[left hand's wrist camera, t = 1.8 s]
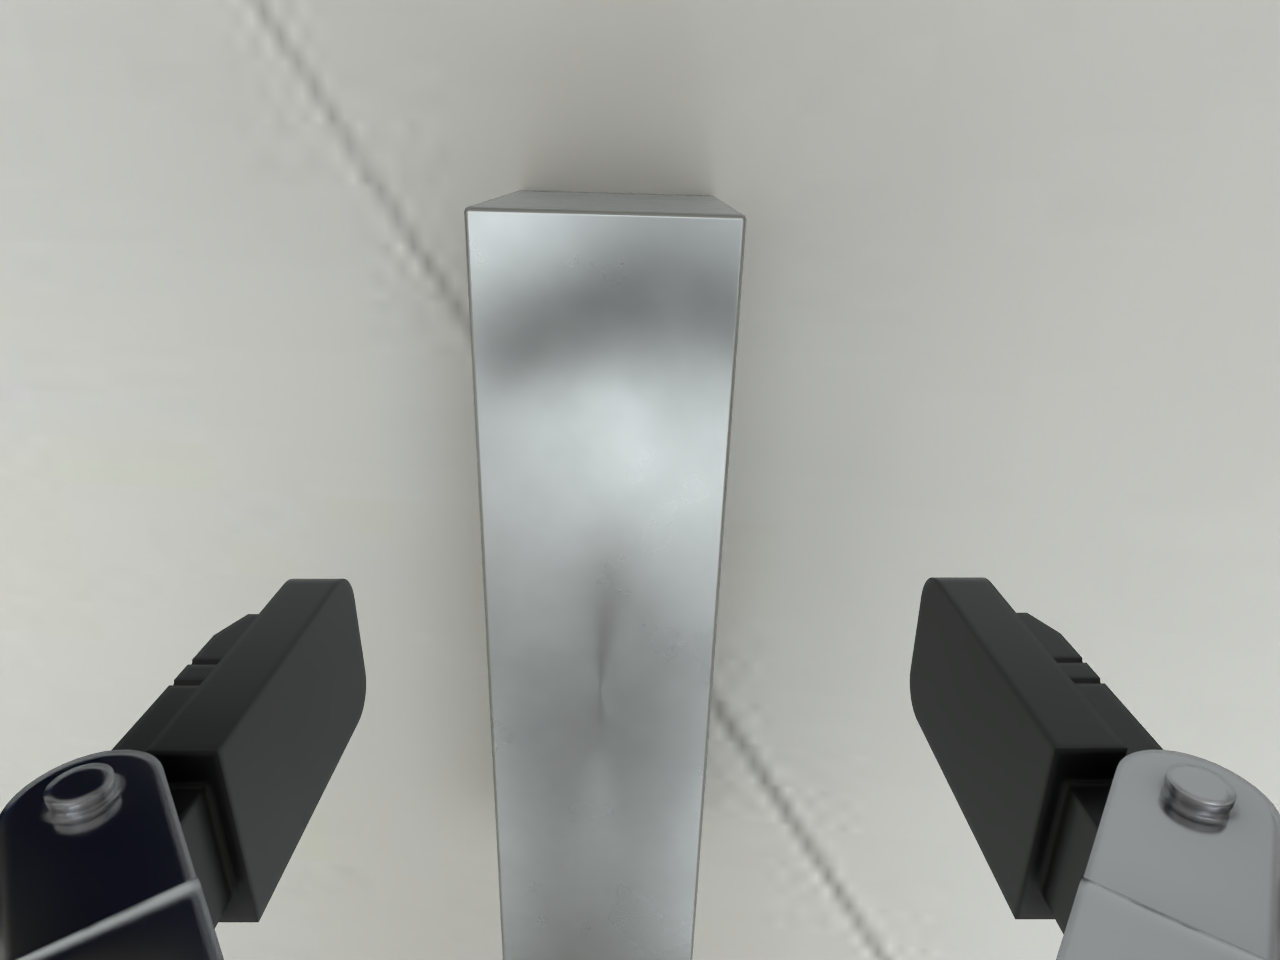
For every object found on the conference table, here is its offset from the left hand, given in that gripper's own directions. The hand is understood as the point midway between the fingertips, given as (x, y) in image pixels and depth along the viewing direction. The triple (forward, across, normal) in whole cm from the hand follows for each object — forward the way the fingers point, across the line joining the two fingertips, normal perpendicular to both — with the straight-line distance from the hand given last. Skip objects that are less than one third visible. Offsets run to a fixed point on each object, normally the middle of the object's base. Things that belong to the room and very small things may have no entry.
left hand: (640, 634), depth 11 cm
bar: (+16, -1, -7) cm, 17 cm away
